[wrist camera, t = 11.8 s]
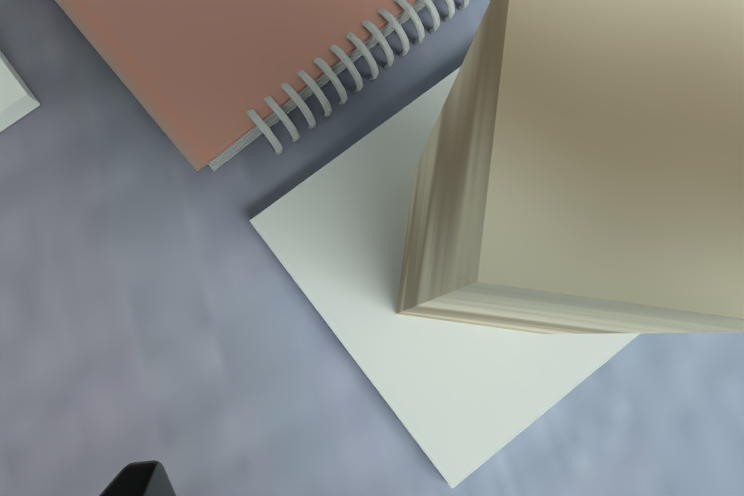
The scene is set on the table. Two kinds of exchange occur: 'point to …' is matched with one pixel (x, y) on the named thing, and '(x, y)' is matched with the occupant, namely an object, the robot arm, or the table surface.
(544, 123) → the maple block
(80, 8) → the notebook
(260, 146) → the table surface
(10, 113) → the white toy sofa
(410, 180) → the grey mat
